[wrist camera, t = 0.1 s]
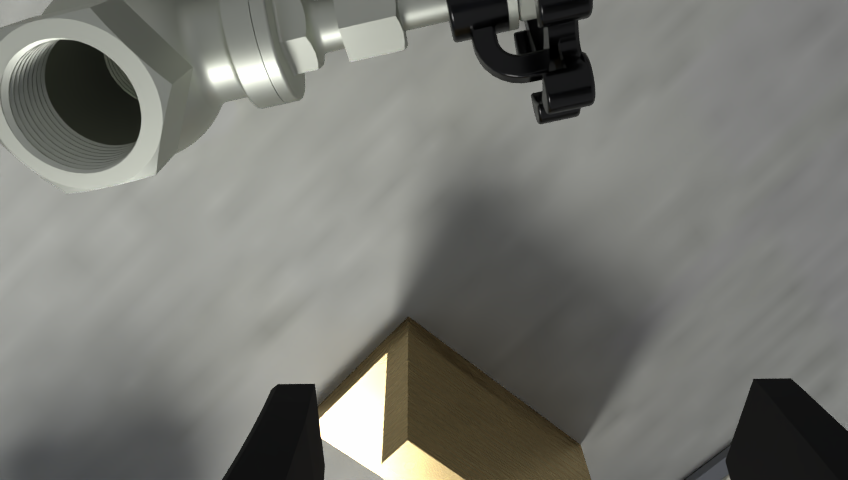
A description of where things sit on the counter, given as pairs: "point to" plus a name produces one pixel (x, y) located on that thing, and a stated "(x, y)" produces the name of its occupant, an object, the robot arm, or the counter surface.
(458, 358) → the bronze bracket
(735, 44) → the counter surface
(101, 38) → the valve
